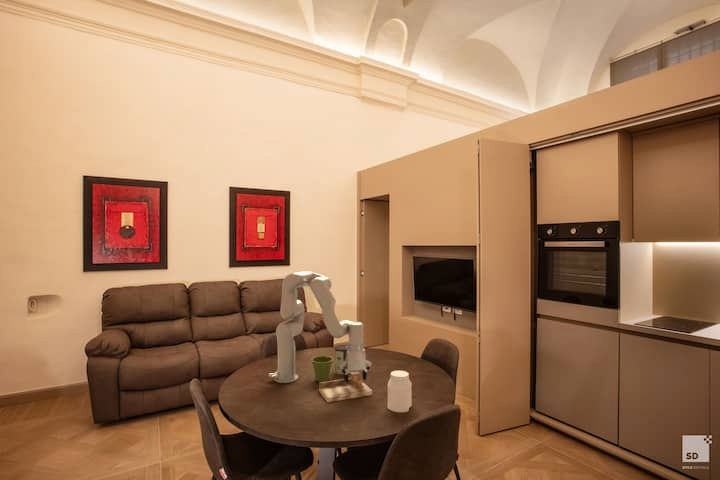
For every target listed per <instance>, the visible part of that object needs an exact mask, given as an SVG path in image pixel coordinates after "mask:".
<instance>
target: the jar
mask: <svg viewBox="0 0 720 480" xmlns="http://www.w3.org/2000/svg"><path fill="white" fill-rule="evenodd" d="M409 375H410V374H409V372H407V371H405V370H393V371H391V372H390V378H389V380H388V382H387V409H388V410H389V411H391V412H393V413H406V412H409V411H410V408H411V407H412V405H413V403H412V398H413V397H412V386H413V384H412V382H411V380H410V378H409V377H410V376H409Z"/></svg>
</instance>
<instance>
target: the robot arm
mask: <svg viewBox="0 0 720 480" xmlns="http://www.w3.org/2000/svg"><path fill="white" fill-rule="evenodd" d="M281 285H282V286H281V298H280V299H281V300H280V311H279V314H280V317H281V318H283V319H284V320H285V321H282V322H281V323H279V324H278V326H277V327H276V330H275V335H276V341H277V343H276V344H277V370H275V372H273V373H270V372H269V373H268V378H271V379H274V381H275V382H276V383H280V384H288V383H289V384H291V383H293V382H296V381H298V380H299V375H298V374H296V342H295V340H294V337H295V336H298V335H300V334H301V333H302V331H303V329H304V322H305V305H304V303H303V302H302V300H300V299H298V291H297V289H298V288H300V289H301V288H304V287H309V289H310V291H311V293H312V294H313V295H314V297H315V300H316V301H317V303H318V305H319V306H320V308H321V314H322V315H321V316H322V320H323V323H324V326H325V327H326V328H327V331H328V332H329V334H330V335H331V336H332V337H333V338H335V339H340V338H343V337H344V336H347V335H348V344H346V345H347V346H346V348H348V350H347V354H346V362H344V363H343V364H341V365H340V366H339V367H340V369H341V371H342V372H343V373H344V374H343V379H344V380H345V382H346V383H348V378H349V374H348V373H349V371H352V372H357V371H358V372H359V371H362V374H361V375H362V378H363V381H367V376H368V371H369V370H370V368H371V366H372V363H373V362H371V361H369V360H367V355H366V354H367V353H366V349H365V348H364V323H362V322H360V321H352V320H351V321H350V320H348V319H343V320H340V321H339V319H338V318H337V315H336V312H335V307H336V302H337V300H336V298H335V297H334V295H333V293H332V292H331V290H330V289H331V287H332V281H331V279H330V278H329V277H327V276H325V275H324V274H323V275H322V274H318V273H316V272H313V271H309V270H305V271H295V272H292V273H289V274H288V275H286V276H285V277H284V278H283V281H282V284H281ZM344 366H345V367H346V369H345V370H344V369H343V367H344Z"/></svg>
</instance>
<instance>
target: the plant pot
mask: <svg viewBox="0 0 720 480" xmlns="http://www.w3.org/2000/svg"><path fill="white" fill-rule="evenodd" d="M333 361H334V358H333V357H332V356H329V355H319V356H318V355H317V356H313V357H312V358H311V362H312V366H313V371H314V378H315V381H317V382H326V381H329V379H330V374H331V367H332V363H333Z"/></svg>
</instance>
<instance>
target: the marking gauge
mask: <svg viewBox="0 0 720 480" xmlns="http://www.w3.org/2000/svg"><path fill="white" fill-rule="evenodd" d="M349 375H350V376H349V378H350V384H351V385H352V386H353V387H354V388H360V389H361V390H362V389H363V387H362V374H361V373H360V372H359V370H358V371H352V372H350V374H349Z"/></svg>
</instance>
